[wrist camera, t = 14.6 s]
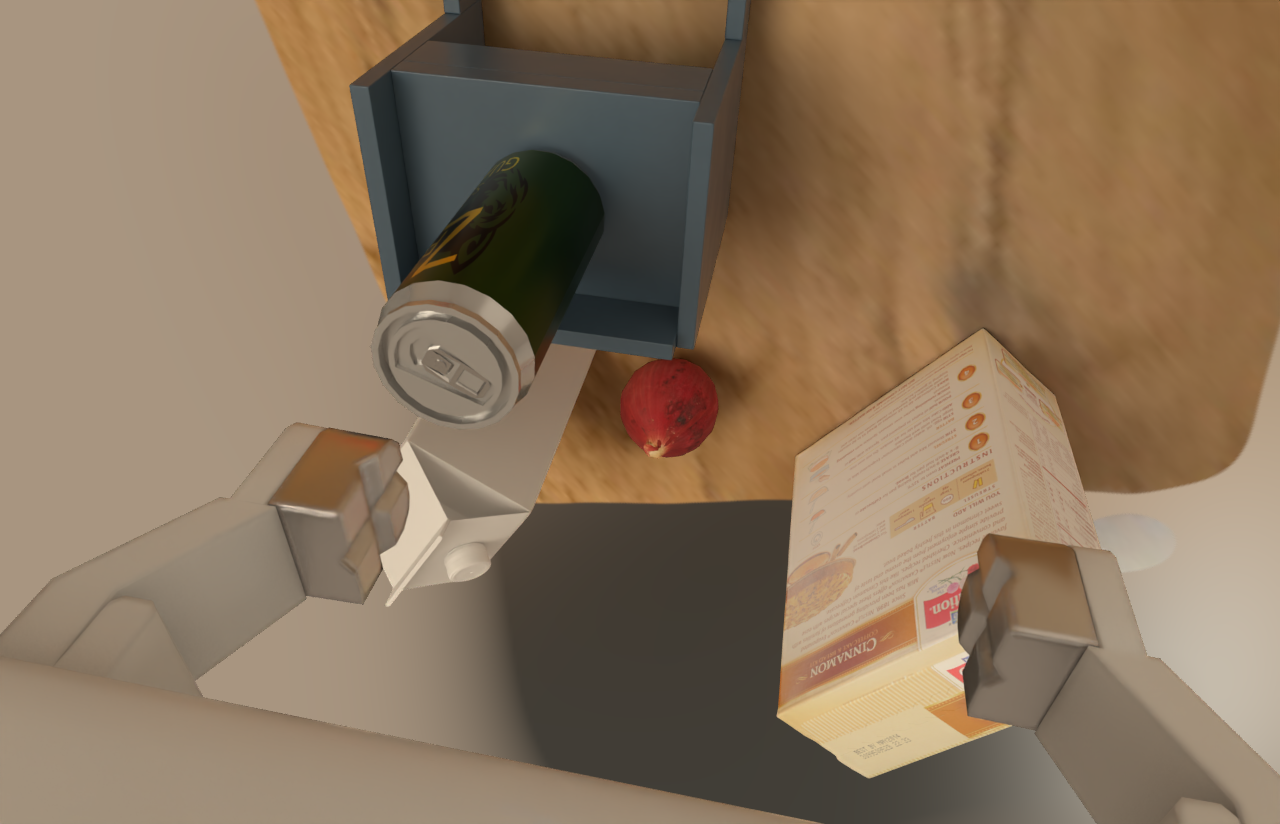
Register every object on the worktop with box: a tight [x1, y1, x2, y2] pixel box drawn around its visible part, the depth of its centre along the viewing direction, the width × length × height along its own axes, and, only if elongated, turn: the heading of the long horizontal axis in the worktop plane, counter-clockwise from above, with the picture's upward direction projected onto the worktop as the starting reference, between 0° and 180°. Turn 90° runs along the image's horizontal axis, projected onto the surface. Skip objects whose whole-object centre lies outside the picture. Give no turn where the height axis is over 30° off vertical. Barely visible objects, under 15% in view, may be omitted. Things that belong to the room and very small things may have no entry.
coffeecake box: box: [777, 328, 1101, 778], centre depth 46 cm, size 15×7×20 cm, turn 141°
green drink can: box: [371, 150, 605, 430], centre depth 32 cm, size 5×5×12 cm
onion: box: [620, 358, 718, 459], centre depth 51 cm, size 6×6×8 cm
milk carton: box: [380, 343, 596, 607], centre depth 49 cm, size 7×7×19 cm
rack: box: [350, 0, 751, 360], centre depth 36 cm, size 20×14×14 cm
